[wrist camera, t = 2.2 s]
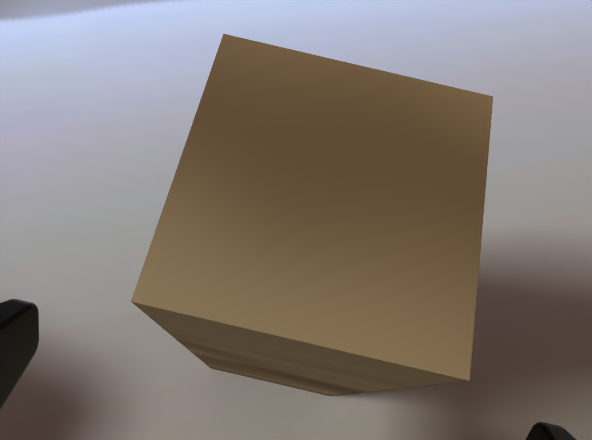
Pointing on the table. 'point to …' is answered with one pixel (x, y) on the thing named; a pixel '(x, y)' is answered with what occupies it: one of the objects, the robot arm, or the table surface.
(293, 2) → the table surface
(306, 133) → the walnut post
